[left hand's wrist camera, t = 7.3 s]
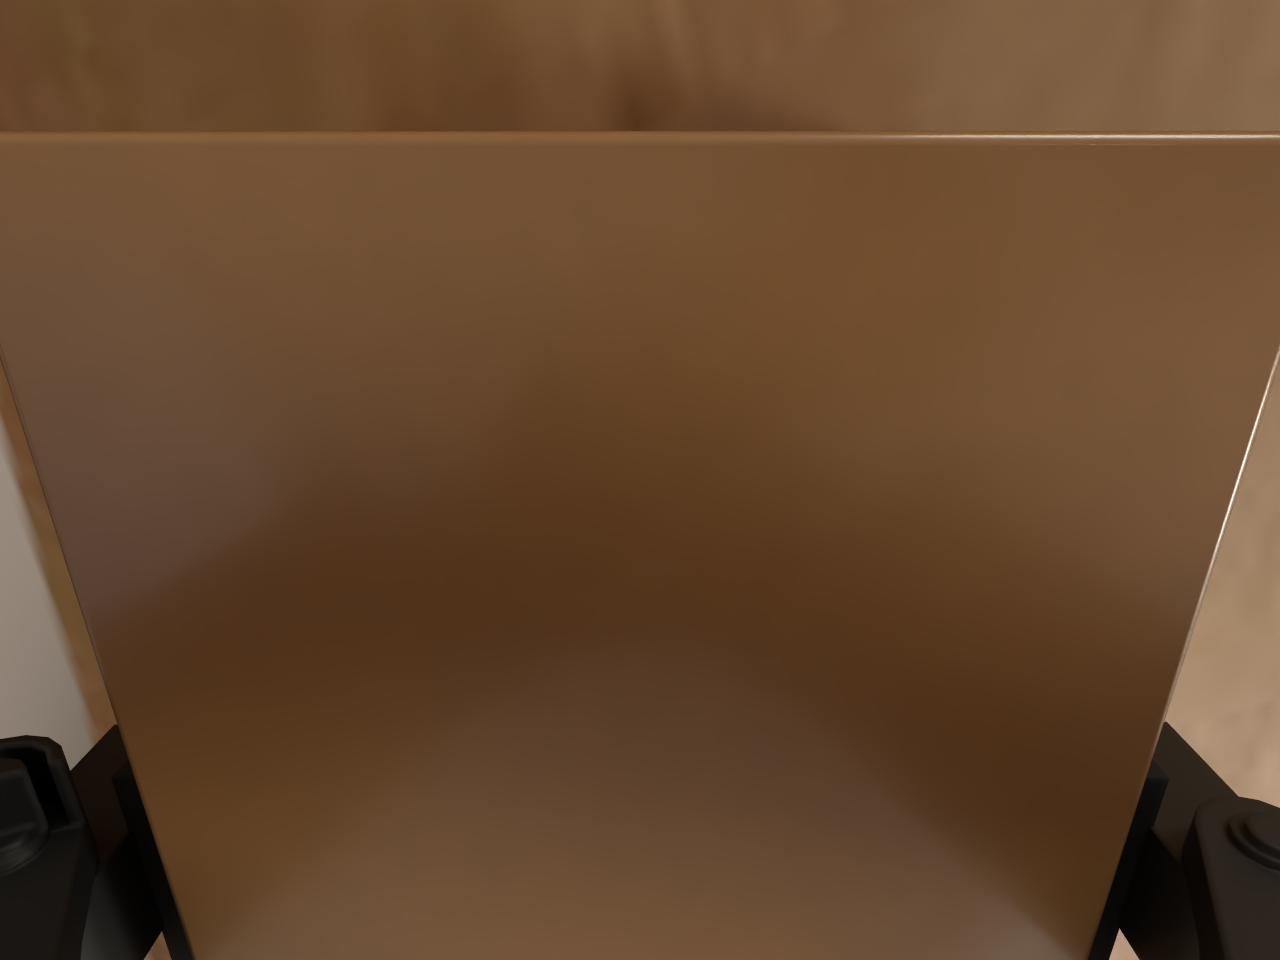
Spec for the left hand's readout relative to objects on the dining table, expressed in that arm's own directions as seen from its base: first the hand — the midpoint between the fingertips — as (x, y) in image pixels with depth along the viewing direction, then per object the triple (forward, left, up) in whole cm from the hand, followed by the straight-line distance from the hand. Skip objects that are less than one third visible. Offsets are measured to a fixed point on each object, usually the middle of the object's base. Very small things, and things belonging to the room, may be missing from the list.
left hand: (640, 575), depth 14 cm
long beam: (+24, +5, 0) cm, 25 cm away
